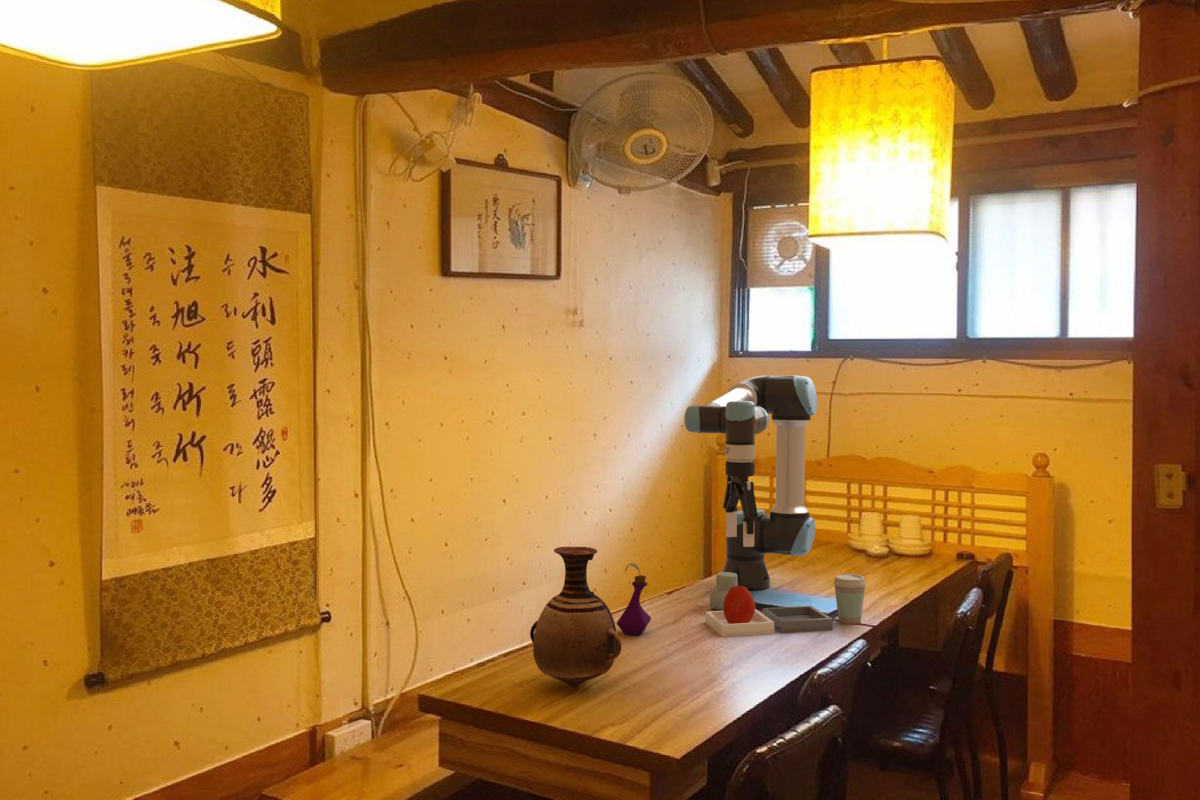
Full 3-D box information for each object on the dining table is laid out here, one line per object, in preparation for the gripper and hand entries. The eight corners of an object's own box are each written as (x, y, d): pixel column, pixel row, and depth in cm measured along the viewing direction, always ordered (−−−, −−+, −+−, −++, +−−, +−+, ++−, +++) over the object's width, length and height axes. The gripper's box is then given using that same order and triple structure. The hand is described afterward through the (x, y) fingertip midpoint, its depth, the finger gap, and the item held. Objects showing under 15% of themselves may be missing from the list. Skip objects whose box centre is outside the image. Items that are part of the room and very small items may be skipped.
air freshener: (737, 615, 281) (737, 579, 281) (708, 613, 284) (708, 577, 284) (745, 605, 292) (745, 571, 291) (716, 603, 294) (716, 569, 294)
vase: (511, 684, 224) (510, 548, 222) (572, 666, 236) (572, 537, 235) (579, 708, 209) (578, 562, 207) (640, 687, 221) (640, 549, 220)
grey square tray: (762, 619, 277) (762, 608, 277) (810, 616, 280) (811, 605, 280) (781, 633, 264) (781, 621, 263) (832, 629, 266) (832, 618, 266)
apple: (759, 622, 270) (759, 582, 270) (747, 630, 263) (747, 588, 263) (730, 618, 275) (730, 579, 274) (717, 626, 268) (718, 585, 267)
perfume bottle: (651, 630, 267) (651, 561, 266) (645, 638, 259) (644, 567, 259) (623, 628, 269) (623, 560, 268) (616, 635, 261) (616, 565, 261)
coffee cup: (866, 626, 270) (867, 581, 269) (833, 624, 271) (833, 579, 271) (865, 617, 278) (865, 574, 278) (832, 616, 280) (833, 572, 279)
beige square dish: (705, 622, 274) (705, 611, 274) (755, 619, 277) (755, 608, 277) (722, 636, 260) (722, 625, 260) (774, 633, 263) (774, 622, 263)
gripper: (711, 455, 278) (711, 533, 279) (742, 466, 254) (742, 551, 255) (738, 455, 280) (737, 532, 281) (771, 465, 255) (770, 550, 256)
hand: (739, 541), depth 268 cm, fingers open, 13 cm apart
